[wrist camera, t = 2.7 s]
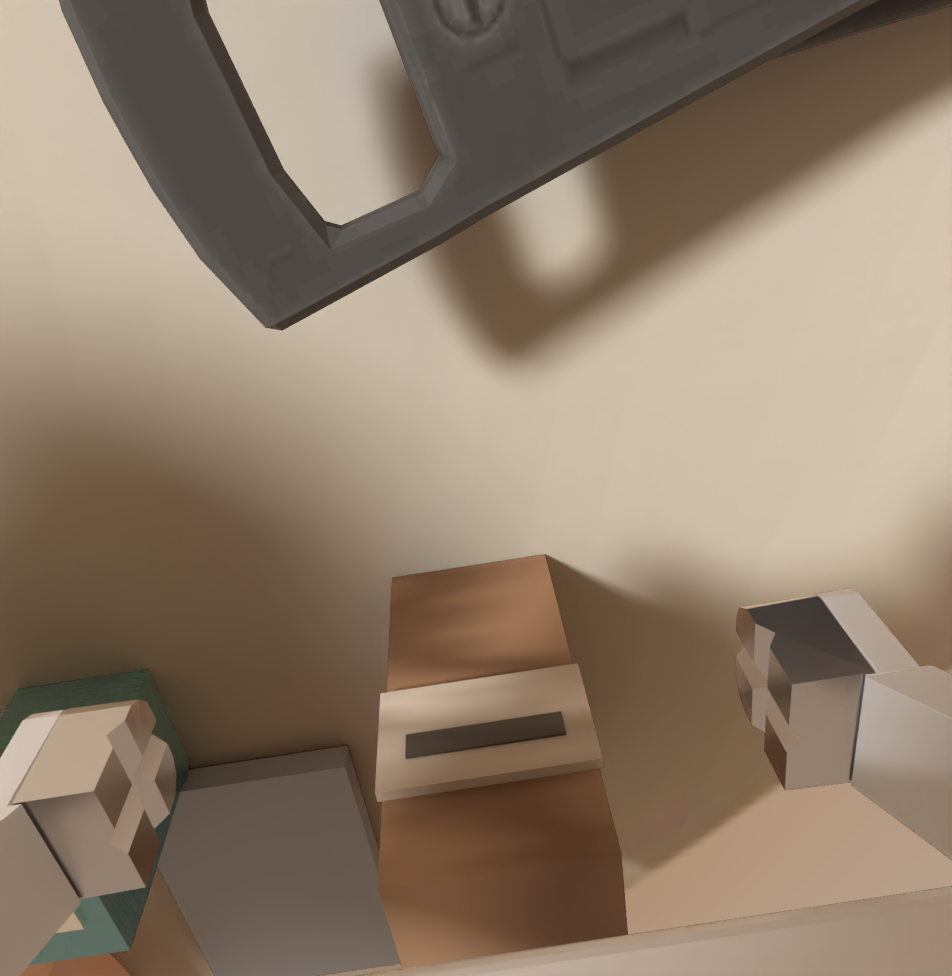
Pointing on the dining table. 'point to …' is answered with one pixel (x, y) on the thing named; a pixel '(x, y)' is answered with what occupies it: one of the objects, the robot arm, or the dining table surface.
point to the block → (79, 967)
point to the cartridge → (118, 914)
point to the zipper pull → (445, 106)
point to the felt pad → (278, 867)
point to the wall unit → (490, 773)
